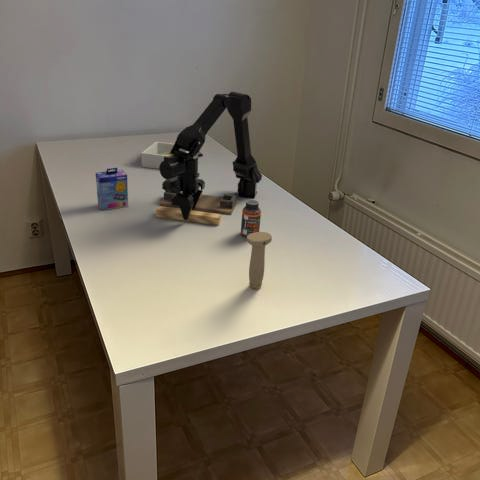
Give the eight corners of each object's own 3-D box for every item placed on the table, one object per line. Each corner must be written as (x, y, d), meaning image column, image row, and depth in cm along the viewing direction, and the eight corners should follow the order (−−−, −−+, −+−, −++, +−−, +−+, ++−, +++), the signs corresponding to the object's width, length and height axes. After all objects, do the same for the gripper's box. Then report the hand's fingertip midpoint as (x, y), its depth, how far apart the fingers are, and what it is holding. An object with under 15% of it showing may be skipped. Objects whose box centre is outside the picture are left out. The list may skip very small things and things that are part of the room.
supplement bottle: (246, 239, 155) (248, 207, 149) (237, 232, 159) (239, 199, 154) (262, 236, 157) (265, 204, 152) (253, 229, 162) (255, 197, 157)
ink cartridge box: (101, 211, 168) (98, 171, 161) (97, 205, 172) (93, 165, 165) (129, 206, 172) (127, 167, 165) (124, 201, 176) (122, 162, 170)
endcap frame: (238, 201, 181) (238, 192, 180) (231, 214, 171) (231, 205, 169) (170, 192, 185) (170, 184, 184) (160, 205, 175) (159, 195, 173)
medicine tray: (194, 158, 223) (194, 146, 220) (182, 171, 207) (182, 157, 204) (156, 154, 225) (156, 141, 222) (141, 166, 209) (141, 153, 207)
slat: (221, 222, 166) (221, 214, 164) (218, 226, 163) (219, 218, 162) (159, 213, 169) (158, 205, 168) (156, 217, 166) (155, 209, 165)
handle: (240, 284, 131) (243, 234, 124) (260, 279, 134) (264, 230, 127) (249, 294, 128) (253, 243, 121) (270, 288, 131) (275, 238, 124)
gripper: (174, 160, 168) (174, 202, 175) (155, 178, 151) (156, 223, 158) (205, 163, 166) (204, 206, 173) (189, 182, 150) (189, 228, 157)
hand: (188, 215), depth 165 cm, fingers open, 7 cm apart
